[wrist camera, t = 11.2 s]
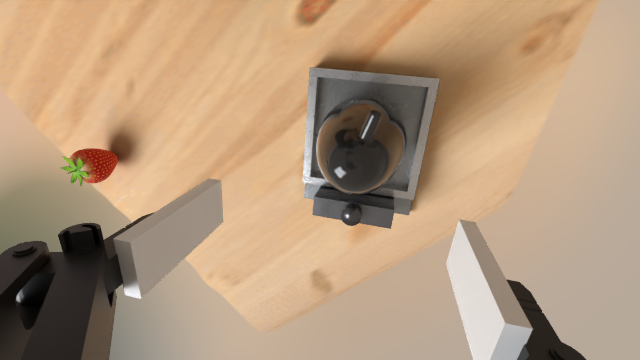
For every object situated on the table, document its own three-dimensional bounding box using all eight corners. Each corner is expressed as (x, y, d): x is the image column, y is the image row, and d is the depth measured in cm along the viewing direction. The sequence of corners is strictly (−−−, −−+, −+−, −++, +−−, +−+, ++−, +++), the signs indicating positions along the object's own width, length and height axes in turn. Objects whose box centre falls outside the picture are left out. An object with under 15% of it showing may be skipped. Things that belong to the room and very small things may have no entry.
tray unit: (314, 67, 38) (298, 67, 32) (436, 78, 35) (447, 80, 29) (306, 195, 45) (291, 217, 38) (408, 212, 42) (411, 238, 36)
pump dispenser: (420, 110, 36) (440, 137, 22) (384, 183, 40) (381, 244, 26) (343, 79, 37) (315, 86, 23) (315, 153, 41) (277, 198, 27)
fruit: (132, 158, 49) (88, 174, 42) (120, 178, 51) (76, 197, 44) (107, 135, 49) (57, 148, 42) (96, 157, 51) (46, 172, 44)
